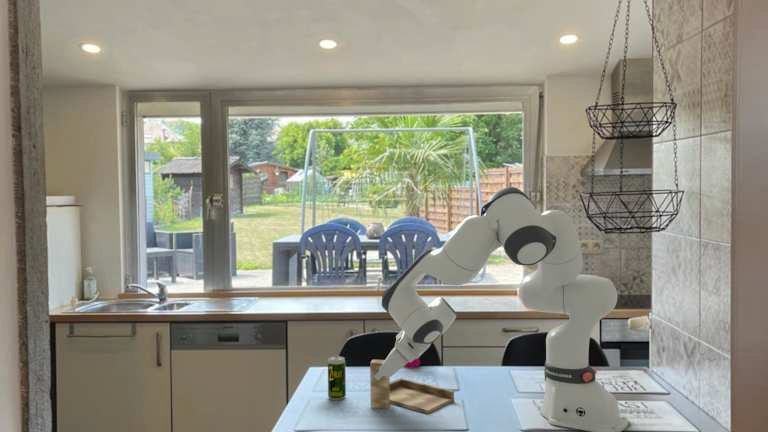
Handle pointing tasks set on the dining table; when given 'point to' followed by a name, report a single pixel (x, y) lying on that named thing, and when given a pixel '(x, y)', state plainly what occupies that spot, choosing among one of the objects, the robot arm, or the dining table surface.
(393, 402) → the wooden tray
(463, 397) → the dining table surface
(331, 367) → the beer can
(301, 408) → the dining table surface
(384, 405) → the plank offcut
